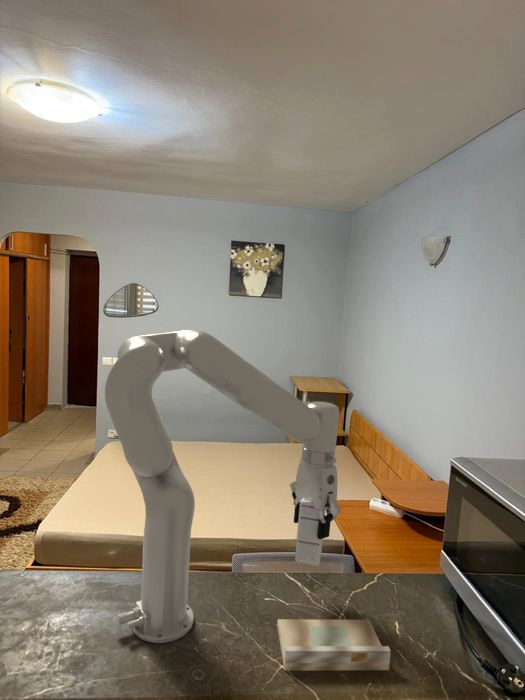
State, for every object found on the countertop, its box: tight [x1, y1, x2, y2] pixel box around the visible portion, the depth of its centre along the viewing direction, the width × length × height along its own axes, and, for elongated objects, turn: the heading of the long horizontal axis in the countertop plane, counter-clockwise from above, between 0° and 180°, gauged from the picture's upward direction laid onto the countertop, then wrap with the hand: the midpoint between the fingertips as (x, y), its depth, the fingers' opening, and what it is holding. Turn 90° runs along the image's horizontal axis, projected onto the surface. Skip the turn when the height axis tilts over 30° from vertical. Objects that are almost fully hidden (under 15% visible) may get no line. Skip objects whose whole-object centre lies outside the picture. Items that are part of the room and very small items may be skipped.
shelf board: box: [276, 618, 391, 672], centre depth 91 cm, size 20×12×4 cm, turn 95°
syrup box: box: [294, 498, 326, 567], centre depth 106 cm, size 6×6×14 cm
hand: (310, 529), depth 106 cm, fingers closed on syrup box, 7 cm apart
